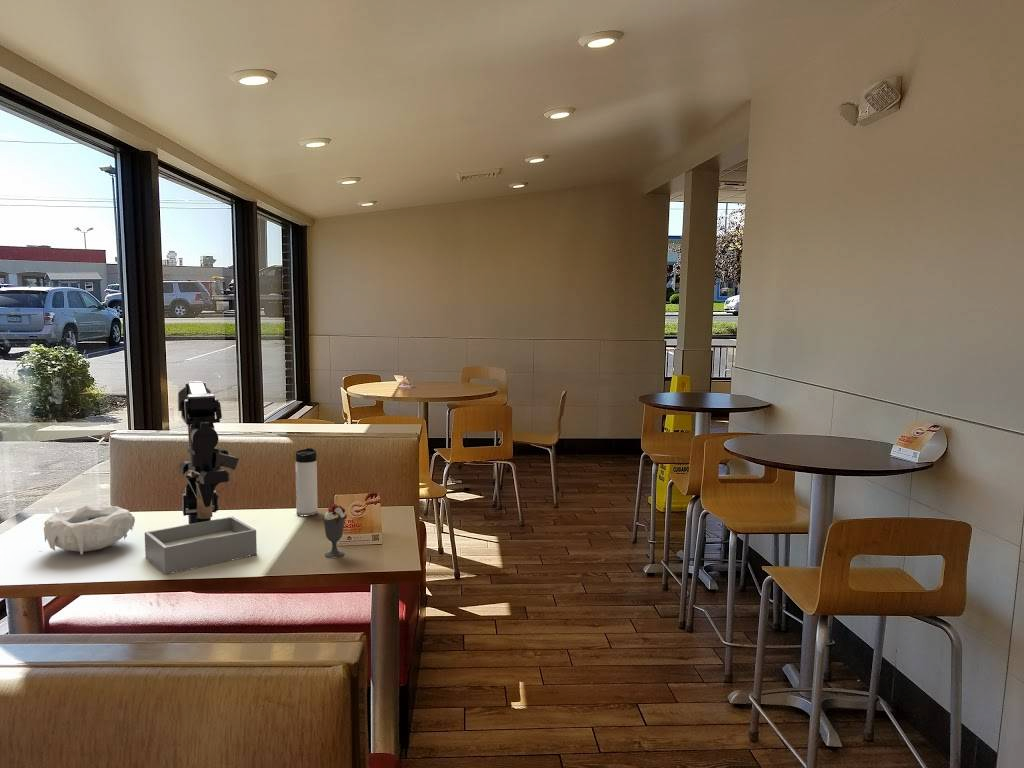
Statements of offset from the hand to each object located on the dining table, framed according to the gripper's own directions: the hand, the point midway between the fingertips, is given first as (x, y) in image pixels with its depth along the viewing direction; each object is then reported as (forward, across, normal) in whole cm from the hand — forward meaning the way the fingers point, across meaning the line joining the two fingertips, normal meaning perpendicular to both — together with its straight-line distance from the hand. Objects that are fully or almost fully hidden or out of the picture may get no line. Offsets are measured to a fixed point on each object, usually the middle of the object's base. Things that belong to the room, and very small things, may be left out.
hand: (204, 505), depth 182 cm
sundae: (+13, -21, -24) cm, 35 cm away
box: (+13, 0, +1) cm, 13 cm away
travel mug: (+13, +18, -37) cm, 44 cm away
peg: (+3, 0, 0) cm, 3 cm away
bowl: (+13, +24, +21) cm, 35 cm away
